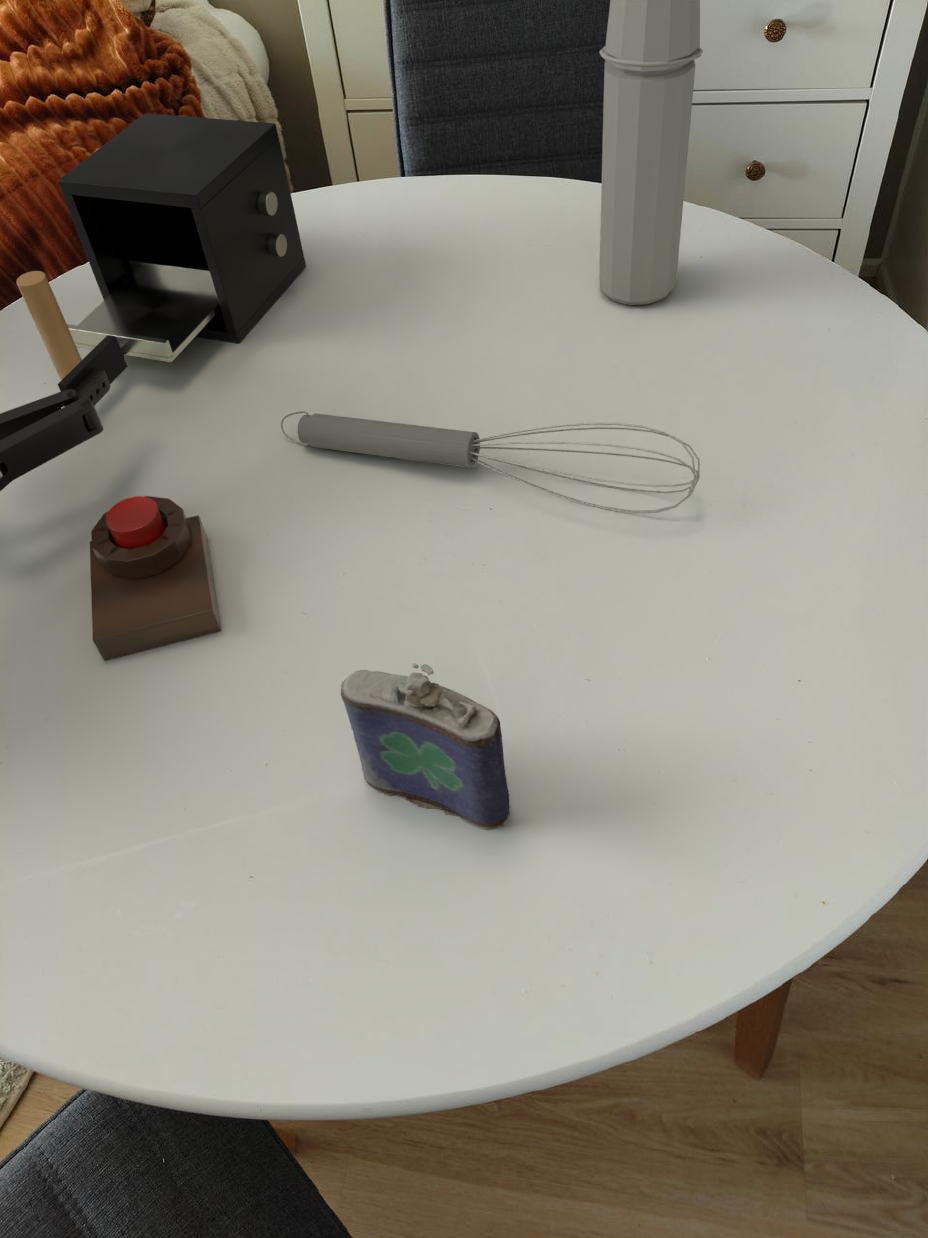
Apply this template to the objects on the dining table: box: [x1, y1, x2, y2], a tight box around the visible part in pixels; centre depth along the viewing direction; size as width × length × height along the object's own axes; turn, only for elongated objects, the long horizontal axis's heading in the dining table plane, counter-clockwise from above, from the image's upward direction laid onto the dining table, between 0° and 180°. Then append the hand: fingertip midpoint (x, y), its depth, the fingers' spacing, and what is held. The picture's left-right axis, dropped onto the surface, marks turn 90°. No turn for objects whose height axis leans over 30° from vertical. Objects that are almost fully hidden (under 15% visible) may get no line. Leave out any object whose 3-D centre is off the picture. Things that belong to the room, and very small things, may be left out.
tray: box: [16, 258, 221, 381], centre depth 84 cm, size 11×19×10 cm, turn 160°
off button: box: [106, 495, 165, 549], centre depth 69 cm, size 4×4×2 cm
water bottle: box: [598, 0, 704, 306], centre depth 84 cm, size 9×8×25 cm
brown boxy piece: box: [89, 495, 222, 662], centre depth 70 cm, size 11×8×4 cm
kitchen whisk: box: [280, 410, 701, 514], centre depth 74 cm, size 6×34×6 cm, turn 69°
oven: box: [57, 112, 307, 344], centre depth 92 cm, size 15×14×14 cm
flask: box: [340, 663, 511, 830], centre depth 54 cm, size 9×3×11 cm, turn 65°
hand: (46, 339), depth 78 cm, fingers open, 13 cm apart
